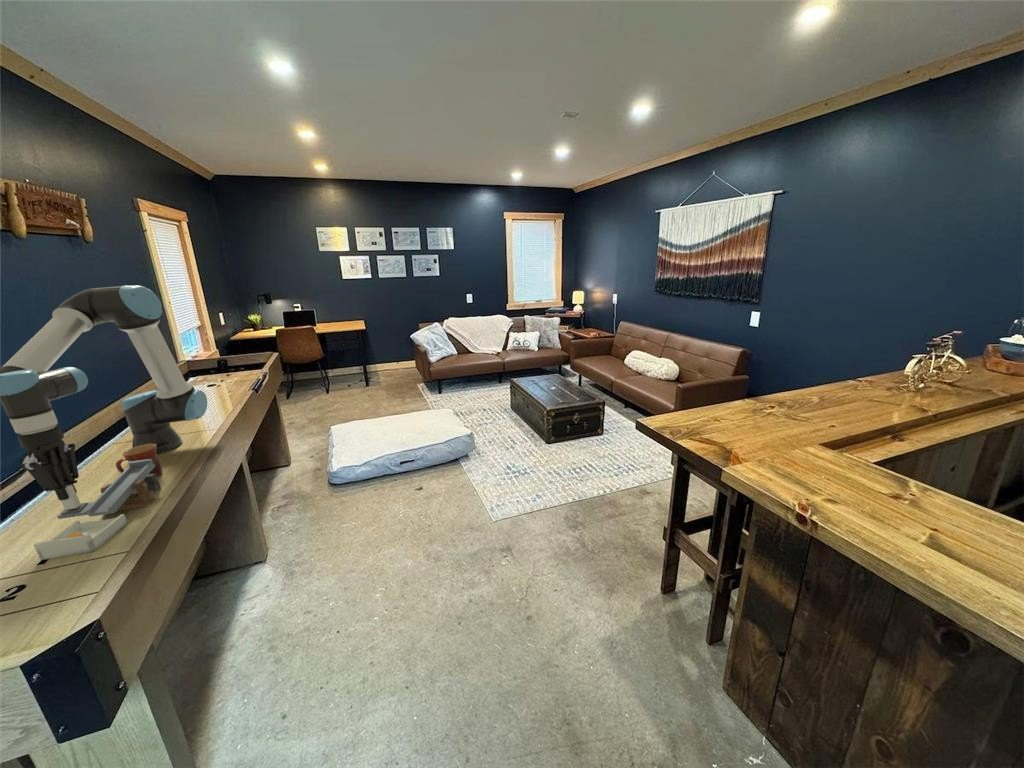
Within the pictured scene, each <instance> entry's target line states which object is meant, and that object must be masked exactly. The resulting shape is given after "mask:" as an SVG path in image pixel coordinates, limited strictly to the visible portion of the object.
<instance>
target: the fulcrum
mask: <svg viewBox="0 0 1024 768" xmlns="http://www.w3.org/2000/svg"><path fill="white" fill-rule="evenodd" d="M111 484H112V483H107V484H105V485H103V486H102V487H101V488H100V493H101V494H102V493H103V492H104V491H105V490H106V489H107V488H108V487H109V486H110V485H111ZM134 486H135V488H136V489H135V491H136V492H132V494H131V495H130V496H129V497H128V498H127V499H126V500H125V502H124V503H123V504H122V505H121V506H120V507H119V508H118V510H117V511H124V510H131V509H132V510H133V509H138V508H145V507H148V506H149V505H151V504H152V503H153V502H154V501H155V500H156V499H157V497H156V495H155V492H157V491H159V490H160V489H161V488H162V487H161V484H160V481H159V479H158V475H157V476H156V473H155V474H148V475H147V476H146V478H145V479H142V480H138V481H137V482H136V483H134ZM117 511H116V512H117Z"/></svg>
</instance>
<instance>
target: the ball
mask: <svg viewBox="0 0 1024 768" xmlns="http://www.w3.org/2000/svg"><path fill="white" fill-rule="evenodd" d="M76 536H83V534H82V533H73V534H71V535H69V536H68V537H67V538H70V537H76Z"/></svg>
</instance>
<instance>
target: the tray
mask: <svg viewBox="0 0 1024 768" xmlns="http://www.w3.org/2000/svg"><path fill="white" fill-rule="evenodd" d="M128 524H129V523H128V520H127V517H126V516H125V513H123V514H119V515H118V516H117V517H113V518H108V519H107V518H106V519H102V520H94V521H87V522H86V521H85V522H80V520H77V521H74V522H73V523H72V524H70V525H69V526H67V527H66V528H65V529H63V530H62V531H60V532H58V534H56V535H55V536H54V537H52V538H50V539H49V540H46V541H45V540H44V541H38V542H35V543H34V544H33V547H34V549H35V551H36V553H37V555H38V557H39V559H40V560H41V561H43V560H49V559H56V558H61V557H67V556H74V555H80V554H86V553H92V552H96V551H97V550H98V549H99V548H100V547H102V546H103V545H104V544H105V543H107V542H108V541H109V540H110V539H111V538H112V537H113V536H115V535H116V534H117V533H118V532H119V531H121V530H122V529H123V528H124V527H126V526H127V525H128ZM73 533H82V534H83V536H76V537H70V538H67V537H68V536H69V535H71V534H73Z"/></svg>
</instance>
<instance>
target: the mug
mask: <svg viewBox="0 0 1024 768" xmlns="http://www.w3.org/2000/svg"><path fill="white" fill-rule="evenodd" d="M121 454H122V457H121V458H120V459H118V460H117V461H116V462H115V468H116V470H117V471H118V473H120V474H122V472H123V471H124V470H125V469H124V468H123V467H122V463H123V462H125V461H127V462H128V463H129V462H131V461H138V460H146V459H152V461H153V463H154V464H155V467H154V468H153V470H152V471H151V472H150V473H149V474H155V473H156V476H157V477H158V476H159V475H160V474H161V473H163V469H162V464H161V461H160V459H159V457H158V454H156V444H145V445H140V446H137V447H134V448H132V447H131V448H129V449H126V450H125V451H123V452H122V453H121Z"/></svg>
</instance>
